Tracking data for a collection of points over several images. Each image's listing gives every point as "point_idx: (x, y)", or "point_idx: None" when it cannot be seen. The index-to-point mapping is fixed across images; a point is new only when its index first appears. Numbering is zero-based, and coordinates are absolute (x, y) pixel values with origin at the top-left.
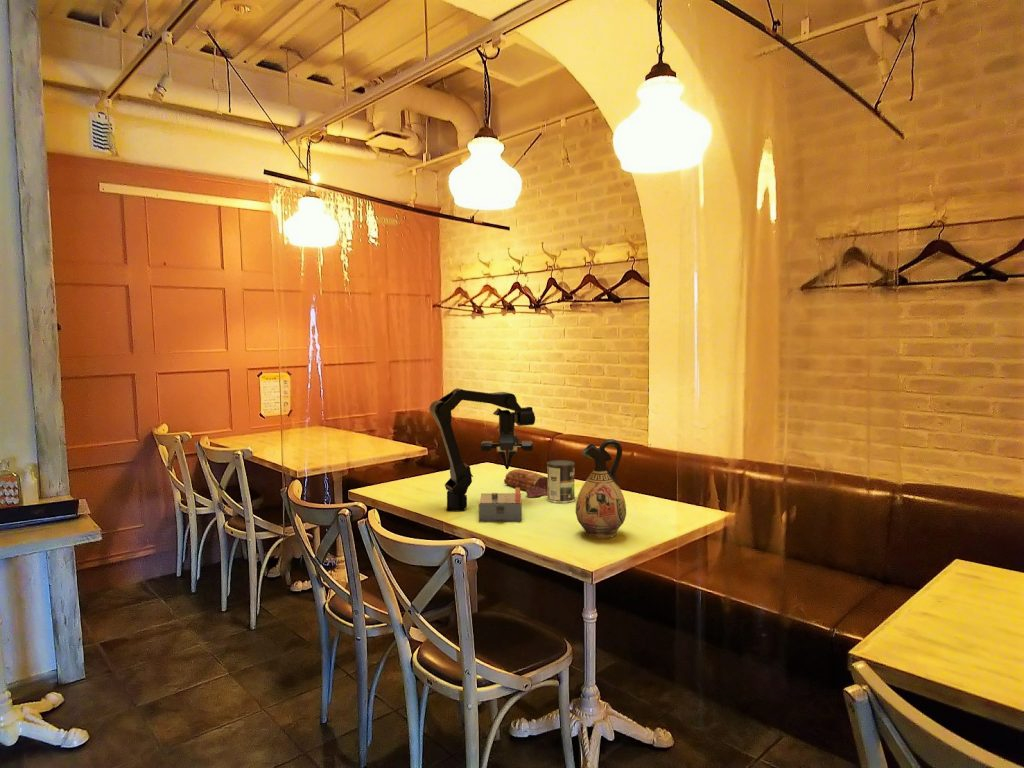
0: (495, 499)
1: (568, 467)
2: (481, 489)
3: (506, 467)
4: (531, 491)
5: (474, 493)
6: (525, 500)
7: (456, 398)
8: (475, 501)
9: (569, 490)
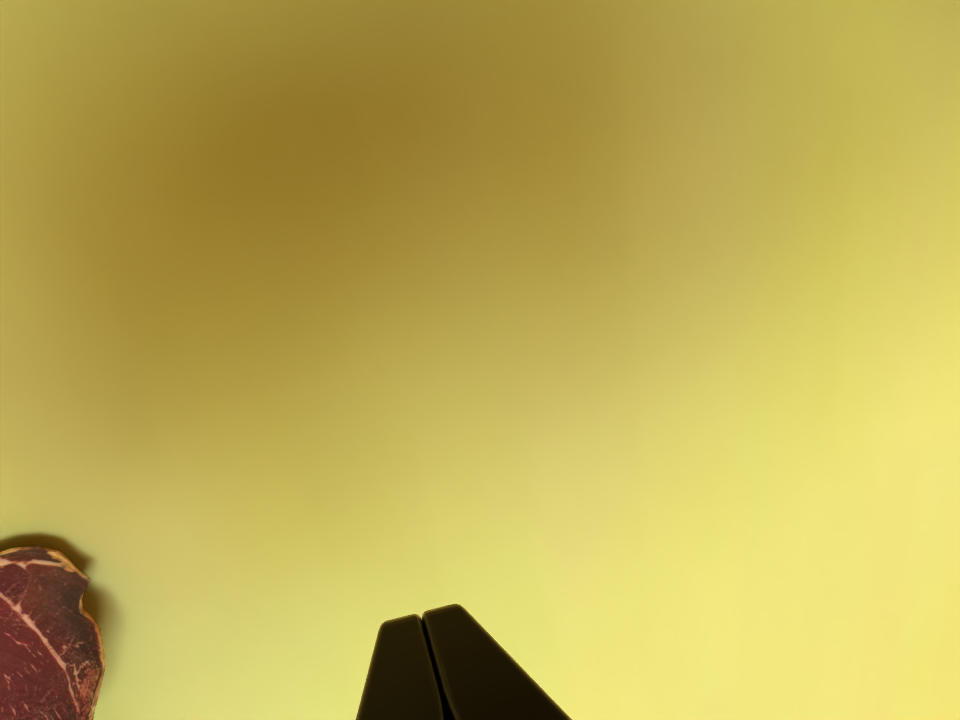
0: None
1: None
2: (723, 702)
3: (453, 646)
4: (36, 697)
5: (801, 553)
6: (49, 401)
7: None
8: (802, 211)
9: None
